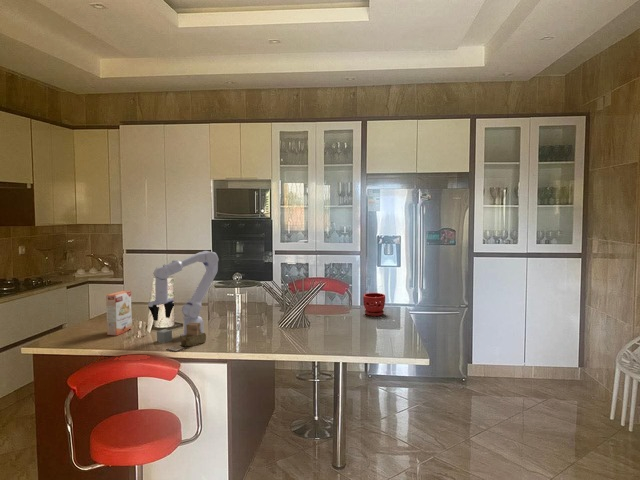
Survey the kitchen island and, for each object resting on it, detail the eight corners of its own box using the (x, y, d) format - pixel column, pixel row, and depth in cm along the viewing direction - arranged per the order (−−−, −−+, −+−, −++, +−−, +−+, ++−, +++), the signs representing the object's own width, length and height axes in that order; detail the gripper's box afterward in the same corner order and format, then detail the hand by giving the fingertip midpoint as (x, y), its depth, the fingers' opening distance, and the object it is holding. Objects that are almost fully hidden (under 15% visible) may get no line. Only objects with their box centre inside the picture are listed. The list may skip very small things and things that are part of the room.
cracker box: (117, 336, 253) (115, 295, 252) (106, 335, 254) (105, 294, 253) (132, 329, 267) (131, 290, 265) (122, 328, 268) (121, 290, 267)
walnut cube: (190, 332, 241) (190, 322, 240) (200, 332, 240) (200, 322, 240) (186, 335, 236) (186, 324, 235) (197, 335, 235) (196, 325, 235)
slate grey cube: (165, 339, 247) (164, 329, 247) (172, 340, 245) (171, 330, 244) (157, 341, 243) (156, 331, 243) (164, 342, 240) (163, 332, 240)
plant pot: (359, 313, 303) (359, 293, 302) (377, 311, 308) (378, 292, 307) (370, 317, 291) (370, 297, 290) (389, 315, 296) (389, 295, 295)
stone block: (207, 342, 241) (206, 332, 240) (186, 348, 232) (186, 337, 232) (199, 340, 244) (199, 330, 244) (179, 346, 236) (179, 335, 235)
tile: (176, 346, 234) (176, 345, 234) (186, 348, 230) (186, 347, 230) (166, 350, 228) (166, 348, 228) (176, 352, 225) (176, 350, 225)
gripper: (167, 288, 252) (167, 315, 253) (143, 292, 240) (144, 320, 241) (177, 290, 249) (177, 317, 249) (154, 294, 236) (154, 322, 237)
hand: (161, 319), depth 245 cm, fingers open, 7 cm apart
